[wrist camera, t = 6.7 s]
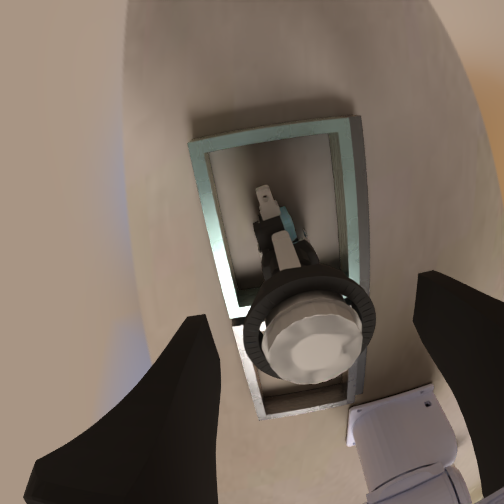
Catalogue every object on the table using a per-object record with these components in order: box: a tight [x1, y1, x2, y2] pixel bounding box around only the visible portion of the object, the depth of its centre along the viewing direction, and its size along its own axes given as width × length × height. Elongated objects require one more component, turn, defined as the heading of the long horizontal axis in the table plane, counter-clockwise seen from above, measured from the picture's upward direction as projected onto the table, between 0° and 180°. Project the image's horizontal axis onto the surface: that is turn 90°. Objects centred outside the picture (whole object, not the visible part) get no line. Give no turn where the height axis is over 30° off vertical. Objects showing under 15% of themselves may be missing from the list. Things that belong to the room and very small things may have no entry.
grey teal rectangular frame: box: [188, 115, 370, 421], centre depth 21 cm, size 9×22×2 cm, turn 10°
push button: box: [243, 184, 376, 385], centre depth 16 cm, size 7×5×10 cm
